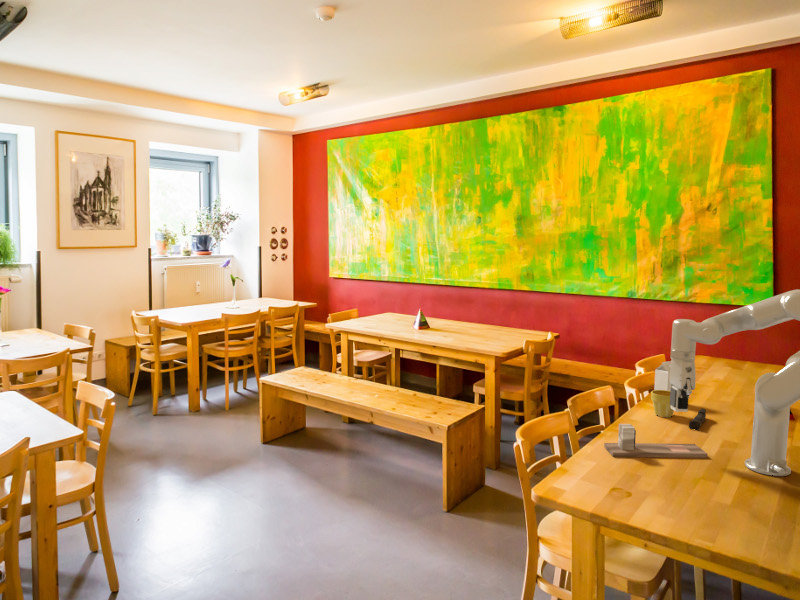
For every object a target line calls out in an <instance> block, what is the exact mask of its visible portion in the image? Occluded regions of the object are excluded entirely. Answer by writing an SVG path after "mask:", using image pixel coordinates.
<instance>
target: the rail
mask: <svg viewBox="0 0 800 600" xmlns="http://www.w3.org/2000/svg"><path fill="white" fill-rule="evenodd" d="M636 432H637V431H636V428H635V426H633V424H631V423H618V437H617V438H618V440H617V441H618V442H604V443H603V444H604V445H603V446H604V448H605V449H606V451H607V452H608V453H609V454H610V456H611V457H614V458H615V457H617V458H680V459H681V458H686V459H687V458H688V459H689V458H691V459H692V458H693V459H694V458H695V459H696V458H697V459H703V458H704V459H707V458H708V452H707V451H705V450H704V449H702V448H700V446H698V445H696V443H651V442H650V443H639V442H638V443H637V442H636V437H637V435H636V434H637V433H636Z"/></svg>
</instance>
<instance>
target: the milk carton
mask: <svg viewBox="0 0 800 600" xmlns="http://www.w3.org/2000/svg"><path fill="white" fill-rule="evenodd" d="M670 365H671V360H670V361H663V362H661V364H660V365H659V366H658V367H657V368H655V370H654V371H655V372H654V386H653V387H654V388H653V389H654V390H667V391H671V383H670V381H669V374H670Z"/></svg>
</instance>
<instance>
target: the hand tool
mask: <svg viewBox="0 0 800 600" xmlns="http://www.w3.org/2000/svg"><path fill="white" fill-rule="evenodd" d="M706 413H707V410H706V409H705V408H700V409H699V410H698V412H697V414H696V415H695V417H694V418H693V419H692V420H690V421H689V422H688V428H689V429H690V430H692V429H695V430H694V431H700V428H701V426H702V425H703V423H705V422H706V417H707V414H706ZM704 421H705V422H704Z"/></svg>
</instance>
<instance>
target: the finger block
mask: <svg viewBox="0 0 800 600" xmlns="http://www.w3.org/2000/svg"><path fill="white" fill-rule="evenodd" d="M683 389H686V387H683ZM683 392H685V391H683ZM678 397H680V396H679V388H677V387H676V386H672V387H671V391H670V405H671V409H673V410H674V412H678V413H679V412H681V413H682V412H683V413H687V412H688V411H689V408H688V409H678Z"/></svg>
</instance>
